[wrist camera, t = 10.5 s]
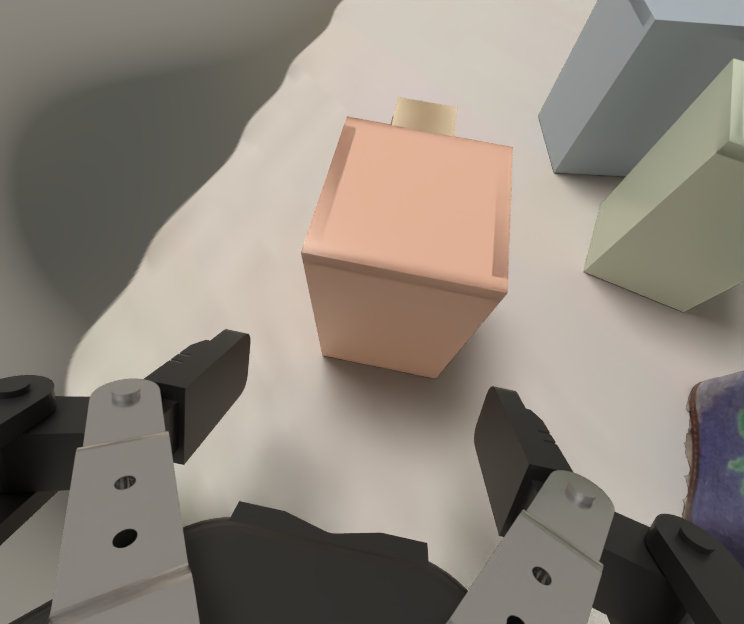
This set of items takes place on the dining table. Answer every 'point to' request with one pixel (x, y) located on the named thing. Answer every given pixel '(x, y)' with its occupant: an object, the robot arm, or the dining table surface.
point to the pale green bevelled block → (681, 206)
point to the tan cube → (425, 116)
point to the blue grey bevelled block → (635, 79)
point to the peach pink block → (408, 245)
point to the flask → (717, 461)
